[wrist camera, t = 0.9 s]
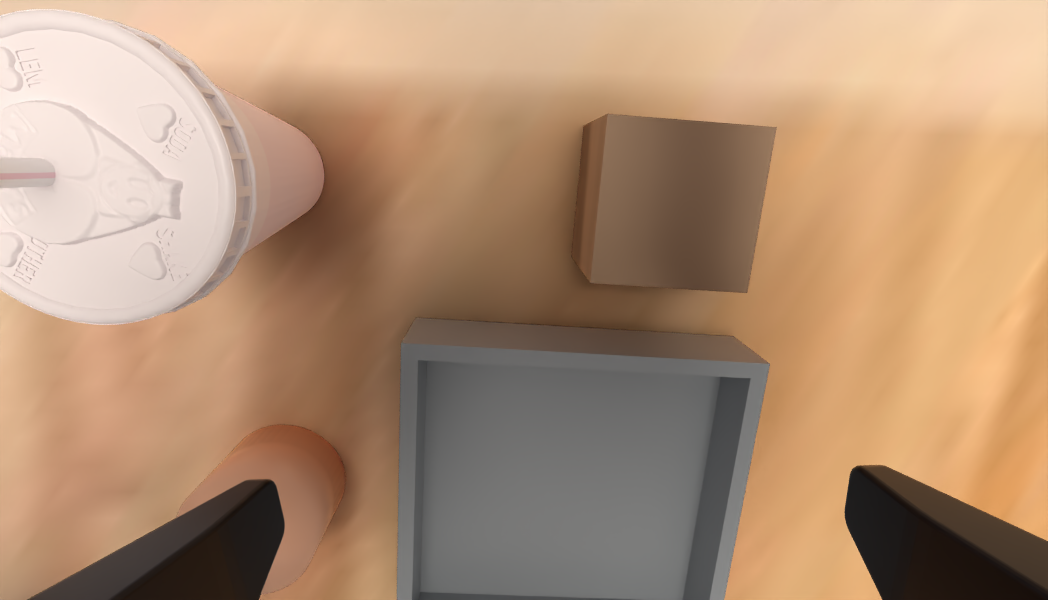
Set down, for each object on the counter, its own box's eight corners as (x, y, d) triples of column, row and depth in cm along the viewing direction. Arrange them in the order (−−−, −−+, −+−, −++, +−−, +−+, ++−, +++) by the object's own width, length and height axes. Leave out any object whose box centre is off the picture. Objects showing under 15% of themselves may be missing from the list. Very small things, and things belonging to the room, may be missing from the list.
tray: (409, 589, 25) (395, 649, 22) (415, 317, 22) (400, 343, 19) (687, 598, 26) (712, 658, 23) (733, 336, 22) (769, 364, 19)
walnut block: (571, 256, 22) (589, 283, 17) (583, 126, 20) (607, 114, 15) (693, 264, 22) (747, 293, 17) (712, 136, 21) (776, 127, 16)
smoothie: (193, 62, 19) (-556, -184, 6) (372, 103, 20) (80, -30, 6) (181, 236, 21) (-433, 374, 7) (348, 270, 21) (70, 458, 8)
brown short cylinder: (233, 523, 24) (180, 592, 20) (226, 421, 23) (168, 474, 19) (346, 528, 24) (316, 597, 20) (345, 426, 23) (313, 480, 19)
